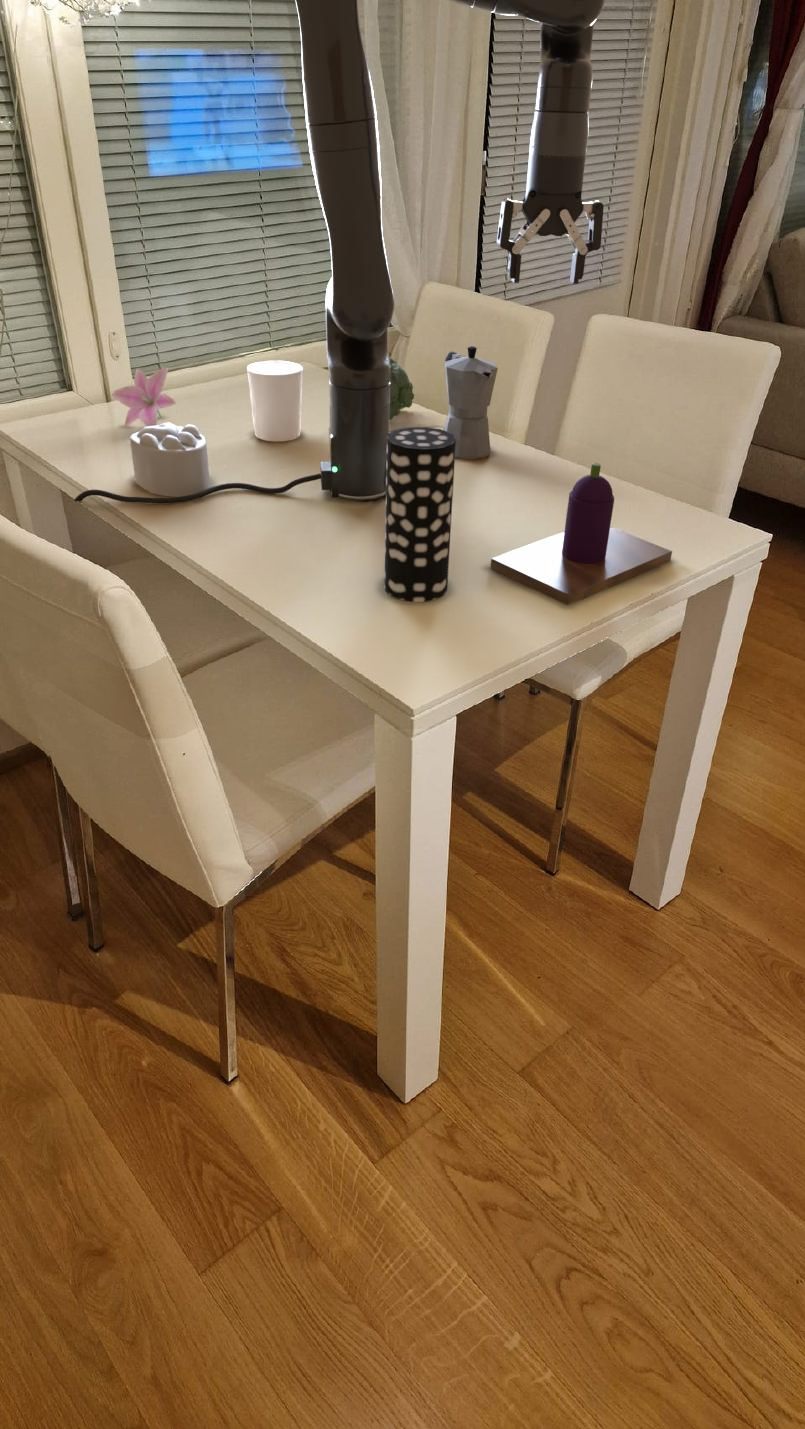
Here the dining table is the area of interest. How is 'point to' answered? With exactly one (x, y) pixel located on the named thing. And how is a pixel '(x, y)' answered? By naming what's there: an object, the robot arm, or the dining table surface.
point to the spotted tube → (418, 512)
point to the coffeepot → (469, 402)
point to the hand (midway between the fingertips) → (544, 282)
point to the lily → (144, 397)
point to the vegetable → (399, 389)
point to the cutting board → (579, 566)
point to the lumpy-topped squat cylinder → (170, 460)
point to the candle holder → (276, 399)
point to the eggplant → (588, 518)
